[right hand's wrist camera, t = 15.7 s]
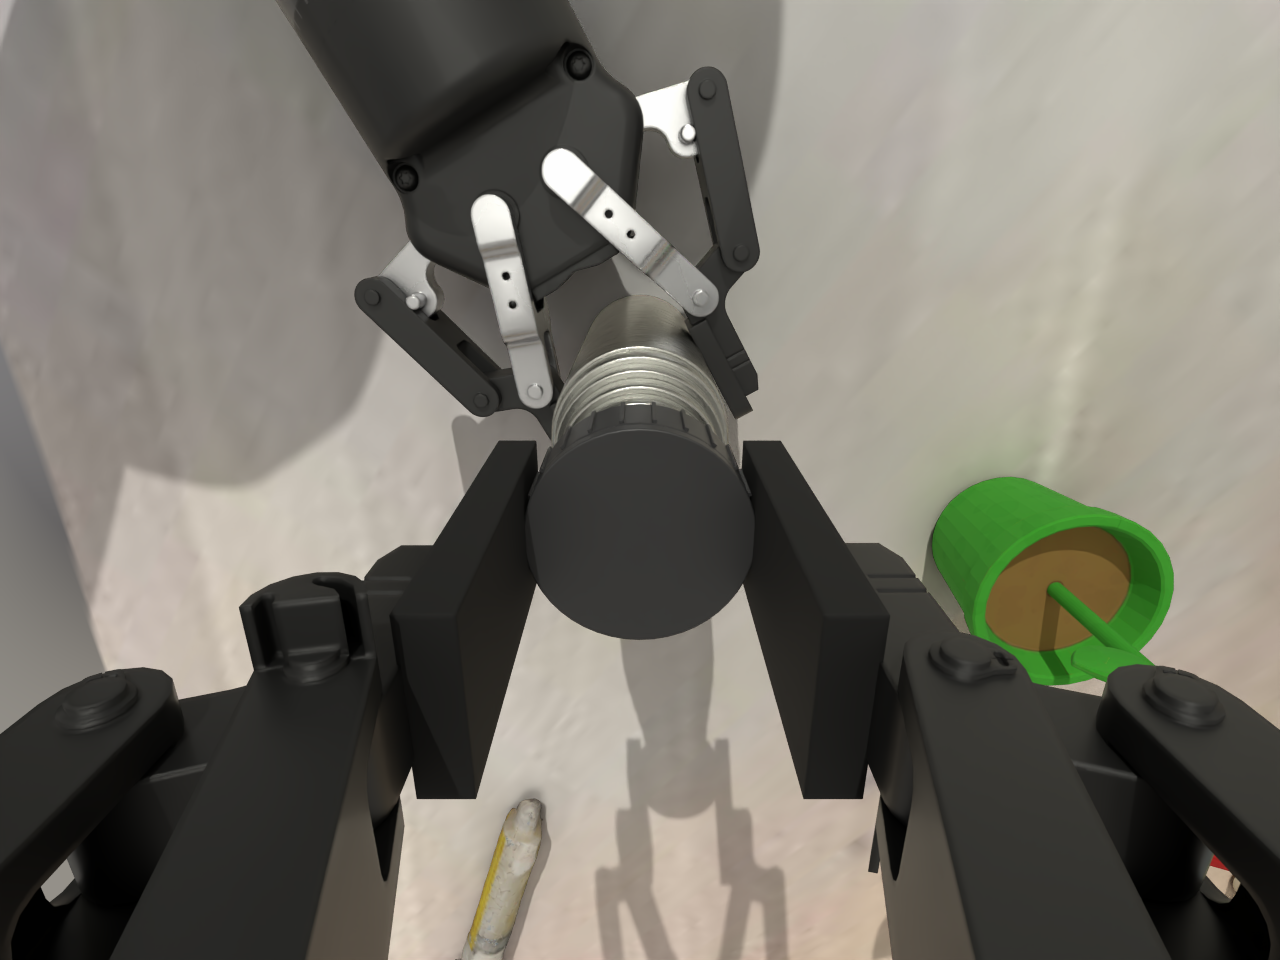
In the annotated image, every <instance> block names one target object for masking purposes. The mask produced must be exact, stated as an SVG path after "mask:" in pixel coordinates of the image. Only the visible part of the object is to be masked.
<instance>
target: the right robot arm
mask: <svg viewBox="0 0 1280 960" xmlns="http://www.w3.org/2000/svg"><path fill="white" fill-rule="evenodd" d="M537 471H538V463H537V446H536V441H498V443H497V445H496V446H495V448H494V449H493V451H492V453H491V454H490V456H489V457H488V459H487V461H486V462H485V464H484V465H483V467H482V469H481V470H480V472H479V473H478V475H477V476H476V478H475V480H474V481H473V483H472V484H471V486H470V488H469V489H468V491H467V492H466V494H465V496H464V497H463V499H462V500H461V502H460V503H459V505H458V507H457V508H456V510H455V511H454V513H453V515H452V516H451V518H450V519H449V521H448V523H447V524H446V526H445V527H444V529H443V531H442V532H441V534H440V535H439V537H438V538H437V540H436V542H435V543H434V545H401V546H400V547H398V548H396V549H395V550H393V551H391V552H390V553H388V554H387V555H385V556H383V557H382V558H380V559H378V560H377V561H376V563H375V564H374V565H373V567H372V568H371V569H370V571H369V572H368V573H367V574H366V576H365V577H364V578H365V579H364V581H361V580H360V579H359V578H357V577H356V576H353V575H348V574H344V573H340V572H317V573H311V574H305V575H299V576H294V577H291V578H288V579H285V580H282V581H279V582H276V583H273V584H270V585H268V586H266V587H265V588H263V589H261V590H259V591H257V592H256V593H254V594H252V595H251V596H250V597H249V598H248V599H247V600H246V601H245V602H244V603H243V604H242V605H241V606H240V607H239V610H240V614H241V618H242V622H243V627H244V631H245V635H246V639H247V643H248V647H249V652H250V656H251V660H252V664H253V668H254V672H253V674H252V676H251V678H250V680H249V682H248V684H247V686H243V687H239V688H235V689H231V690H226V691H221V692H216V693H211V694H206V695H201V696H196V697H191V698H185V699H180V700H178V697H177V693H176V690H175V686H174V683H173V679H172V678H171V677H170V676H168V675H167V674H166V673H165V672H163V671H162V670H157V669H151V668H145V667H141V668H131V669H117V670H112V671H107V672H105V673H104V674H102V673H99V674H96V675H93V676H90V677H87V678H85V679H83V680H82V681H80V682H78V683H76V684H73V685H71V686H69V687H66V688H64V689H62V690H60V691H59V692H57V693H56V694H54V695H52V696H51V697H49V698H48V699H46V700H45V701H43V702H41V703H40V704H38V705H37V706H36V707H34V708H33V709H32V710H31V711H29V712H28V713H27V714H25V715H24V716H23V717H22V718H20V719H19V720H18V721H17V722H15V723H14V724H13V725H11V726H10V727H9V728H8V729H6V730H5V731H4V732H2V733H1V734H0V960H388V953H389V945H390V937H391V929H392V921H393V913H394V905H395V897H396V889H397V881H398V873H399V865H400V857H401V849H402V841H403V834H404V819H403V812H402V806H401V800H400V793H401V791H402V789H403V786H404V784H405V781H406V779H407V777H408V774H409V772H410V769H411V767H412V770H413V777H414V784H415V790H416V797H417V799H476V797H477V793H478V790H479V786H480V783H481V779H482V776H483V772H484V768H485V765H486V761H487V758H488V754H489V751H490V747H491V744H492V740H493V736H494V733H495V729H496V726H497V722H498V719H499V715H500V712H501V708H502V704H503V701H504V697H505V694H506V690H507V687H508V683H509V679H510V676H511V672H512V669H513V665H514V662H515V658H516V655H517V651H518V647H519V644H520V640H521V637H522V633H523V630H524V626H525V623H526V619H527V615H528V612H529V608H530V605H531V601H532V598H533V594H534V591H535V587H536V581H535V580H534V577H533V575H532V573H531V571H530V568H529V566H528V562H527V549H526V534H525V512H526V509H527V505H528V502H529V499H527V496H528V493H529V491H530V488H531V486H532V483H533V481H534V478H535V476H536V473H537ZM742 471H743V474H744V476H745V479H746V481H747V484H748V486H749V488H750V491H751V494H752V496H749V497H750V500H751V503H752V507H753V510H754V514H755V528H754V543H753V558H752V564H751V568H750V570H749V572H748V574H747V577H746V579H745V581H744V582H743V585H744V588H745V592H746V596H747V599H748V603H749V606H750V610H751V613H752V617H753V621H754V624H755V628H756V631H757V635H758V638H759V642H760V645H761V649H762V653H763V656H764V660H765V663H766V667H767V670H768V674H769V677H770V681H771V685H772V688H773V692H774V695H775V699H776V702H777V706H778V709H779V713H780V717H781V720H782V724H783V727H784V731H785V734H786V738H787V742H788V745H789V749H790V752H791V756H792V759H793V763H794V766H795V770H796V774H797V777H798V781H799V784H800V788H801V791H802V795H803V798H804V799H863V794H864V787H865V781H866V774H867V767H868V765H869V767H870V769H871V772H872V774H873V777H874V779H875V781H876V784H877V786H878V788H879V791H880V800H879V806H878V812H877V818H876V824H875V831H874V837H873V843H872V849H871V855H870V862H869V869H868V872H873V873H878V868H879V863H880V864H881V872H882V880H883V888H884V896H885V904H886V912H887V920H888V928H889V935H890V943H891V951H892V959H893V960H1280V730H1279V729H1278V728H1277V727H1275V726H1274V725H1273V724H1271V723H1270V722H1269V721H1268V720H1266V719H1265V718H1264V717H1262V716H1261V715H1260V714H1259V713H1257V712H1256V711H1255V710H1253V709H1252V708H1251V707H1250V706H1248V705H1247V704H1246V703H1244V702H1243V701H1242V700H1240V699H1239V698H1237V697H1235V696H1234V695H1232V694H1231V693H1229V692H1227V691H1226V690H1224V689H1223V688H1221V687H1219V686H1218V685H1215V684H1213V683H1211V682H1208V681H1206V680H1204V679H1201V678H1199V677H1198V676H1196V675H1194V674H1192V673H1189V672H1186V671H1183V670H1175V668H1170V667H1165V666H1153V665H1142V664H1134V665H1128V666H1122V667H1118V668H1117V669H1115V670H1114V671H1113V672H1112V673H1110V674H1109V675H1108V677H1107V681H1106V684H1105V688H1104V691H1103V695H1102V697H1101V696H1095V695H1090V694H1085V693H1080V692H1075V691H1070V690H1064V689H1059V688H1054V687H1049V686H1045V685H1041V684H1037V683H1033V682H1032V680H1031V678H1030V676H1029V674H1028V672H1027V670H1026V669H1025V668H1024V666H1023V665H1022V664H1021V663H1020V662H1019V660H1018V659H1017V658H1016V657H1015V656H1014V655H1013V654H1011V653H1009V652H1008V651H1006V650H1005V649H1003V648H1002V647H1000V646H999V645H997V644H995V643H993V642H990V641H988V640H985V639H983V638H980V637H978V636H975V635H970V634H966V633H961V632H959V631H958V629H957V628H956V627H955V625H954V624H953V623H952V621H951V620H950V619H949V618H948V616H947V615H946V614H945V612H944V611H943V610H942V609H941V607H940V606H939V605H938V603H937V602H936V601H935V599H934V598H933V597H932V596H931V594H930V593H927V592H926V588H925V586H924V585H923V584H922V583H921V581H920V580H919V579H918V578H916V577H915V573H914V572H913V571H912V570H911V568H910V567H909V566H908V564H907V563H906V562H905V560H904V559H903V558H902V557H900V556H899V555H897V554H895V553H894V552H892V551H891V550H889V549H887V548H886V547H884V546H882V545H881V544H879V543H845V542H844V541H843V539H842V538H841V536H840V534H839V533H838V531H837V530H836V528H835V526H834V525H833V523H832V522H831V520H830V519H829V517H828V515H827V514H826V512H825V511H824V509H823V507H822V506H821V504H820V503H819V501H818V499H817V498H816V496H815V495H814V493H813V491H812V490H811V488H810V487H809V485H808V484H807V482H806V480H805V479H804V477H803V476H802V474H801V472H800V471H799V469H798V468H797V466H796V464H795V463H794V461H793V460H792V458H791V456H790V455H789V453H788V452H787V450H786V449H785V447H784V445H783V444H782V442H781V441H743V456H742ZM1214 855H1215V856H1216V857H1217V858H1218V859H1219V860H1220V862H1221V863H1222V864H1223V865H1224V866H1225V867H1226V868H1227V869H1228V870H1229V871H1230V872H1231V873H1232V874H1233V875H1234V877H1235V878H1236V879H1237V880H1238V881H1239V882H1240V885H1239V887H1238V890H1237V892H1236V894H1235V896H1234V897H1233V898H1232V900H1231V899H1229V898H1228V897H1227V896H1226V895H1224V894H1223V893H1222V892H1221V891H1220V890H1219V889H1218V888H1217V887H1216V886H1215V885H1214V884H1213V883H1212V882H1211V880H1210V879H1209V878H1208V877H1207V876H1206V873H1207V871H1208V868H1209V866H1210V864H1211V861H1212V859H1213V856H1214ZM66 859H67V860H68V862H69V865H70V868H71V870H72V873H73V875H74V877H75V878H74V880H73V881H72V882H71V883H70V884H69V885H68V886H67V888H66V889H65V890H64V891H63V892H62V893H61V894H59V895H58V896H57V897H56V898H54V899H53V900H52V901H51V902H49V901H48V900H46V898H45V896H44V894H43V891H42V889H41V886H42V885H43V884H44V882H45V881H46V880H47V879H48V878H49V877H50V876H51V875H52V874H53V873H54V872H55V871H56V870H57V868H58V867H59V866H60V865H61V864H62V863H63V862H64V861H65V860H66Z"/></svg>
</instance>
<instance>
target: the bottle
mask: <svg viewBox="0 0 1280 960" xmlns="http://www.w3.org/2000/svg"><path fill="white" fill-rule="evenodd" d="M684 320H686V319H685V318H684V317H683V315H682V314H681V313H680V312H679V311H678V310H677V309H676V308H675V307H674V306H672V305H671V304H669V303H668V302H666V301H664V300H662V299H659V298H657V297H653V296H648V295H632V296H627V297H624V298H621V299H618V300H616V301H614V302H612V303H611V304H609V305H608V306H607V307H605V308H604V309H603V310H602V311H601V312H600V313H599V314H598V316H597V317H596V318H595V320H594V321H593V323H592V325H591V327H590V329H589V331H588V334H587V336H586V338H585V340H584V342H583V345H582V347H581V349H580V351H579V354H578V356H577V358H576V360H575V362H574V365H573V367H572V369H571V371H570V373H569V376H568V378H567V380H566V382H565V384H564V387H563V389H562V391H561V393H560V396H559V398H558V400H557V403H556V406H555V409H554V414H553V420H552V440H551V443H552V448H553V446H554V445H555V444H556V443H557V441H558V440H559V439H560V438H561V437H562V436H563V435H564V434H565V431H566V428H567V427H568V426H569V425H570V426H571V427H573V426H574V425H575V424H577V423H579V422H580V421H582V420H583V419H585V418H586V417H588V416H591V413H592V411H594V410H596V412H599V411H602V410H605V409H608V408H611V407H616V406H621V403H622V402H625V405H629V404H651V402H656V405H658V406H664V407H669V408H671V409H674V410H677V411H681V409H683V410H685V412H686V414H687V415H689V416H691V417H693V418H695V419H697V420H698V421H700V422H701V423H703V424H704V425H706V424H707V423H708V424H709V425H710V426H711V428H712V431H713V432H714V433H715V434H716V435H717V436H718V437H719V438H720V439H721V441H722V442H723V443H724V444H725V445H727V444H728V420H727V413H726V410H725V406H724V403H723V400H722V398H721V396H720V394H719V391H718V389H717V387H716V385H715V382H714V380H713V378H712V376H711V374H710V371H709V369H708V367H707V365H706V362H705V360H704V358H703V356H702V354H701V352H700V351H699V349H698V347H697V346H696V344H695V342H694V340H693V338H692V336H691V335H690V333H689V331H688V329H687V326H686V324H685V322H684Z"/></svg>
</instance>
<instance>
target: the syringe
mask: <svg viewBox="0 0 1280 960" xmlns="http://www.w3.org/2000/svg"><path fill="white" fill-rule="evenodd" d="M540 811H541V802H540V801H539V800H537V799H528V800H523V801H522V802H520V804H519V805H518V807H517V809H515V808H512V809H511V811H510V812H509V813H508V815H507V817H506V820H505V822H504V824H503V827H502V831H501V833H500V836H499V839H498V843H497V846H496V849H495V852H494V855H493V859H492V862H491V865H490V869H489V872H488V875H487V878H486V881H485V884H484V888H483V891H482V895H481V898H480V902H479V905H478V908H477V911H476V915H475V917H474V920H473V924H472V927H471V930H470V932H469V933H468V936H467V941H466V943H465V946H464V948H463V954H462V960H502V959H503V954H504V950H505V947H506V945H507V942H508V940H509V937H510V935H511V932H512V929H513V926H514V923H515V918H516V915H517V912H518V909H519V906H520V901H521V898H522V896H523V893H524V890H525V887H526V884H527V881H528V878H529V876H530V872H531V869H532V867H533V865H534V863H535V860H536V858H537V854H538V851H539V848H540V841H541V823H542V820H541V817H540ZM455 960H457V959H455Z"/></svg>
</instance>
